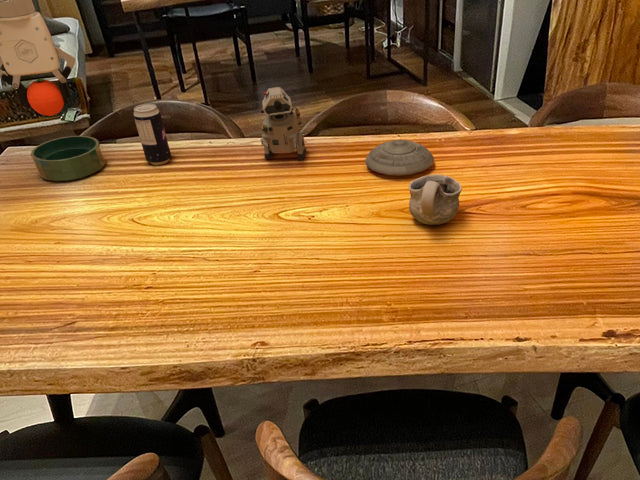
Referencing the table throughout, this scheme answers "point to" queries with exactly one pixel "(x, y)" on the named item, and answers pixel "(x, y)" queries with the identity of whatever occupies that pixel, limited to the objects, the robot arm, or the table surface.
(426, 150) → the flying saucer
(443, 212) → the mug
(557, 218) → the table surface
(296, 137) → the figurine
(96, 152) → the bowl
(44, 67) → the robot arm
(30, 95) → the clementine
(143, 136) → the beverage can
